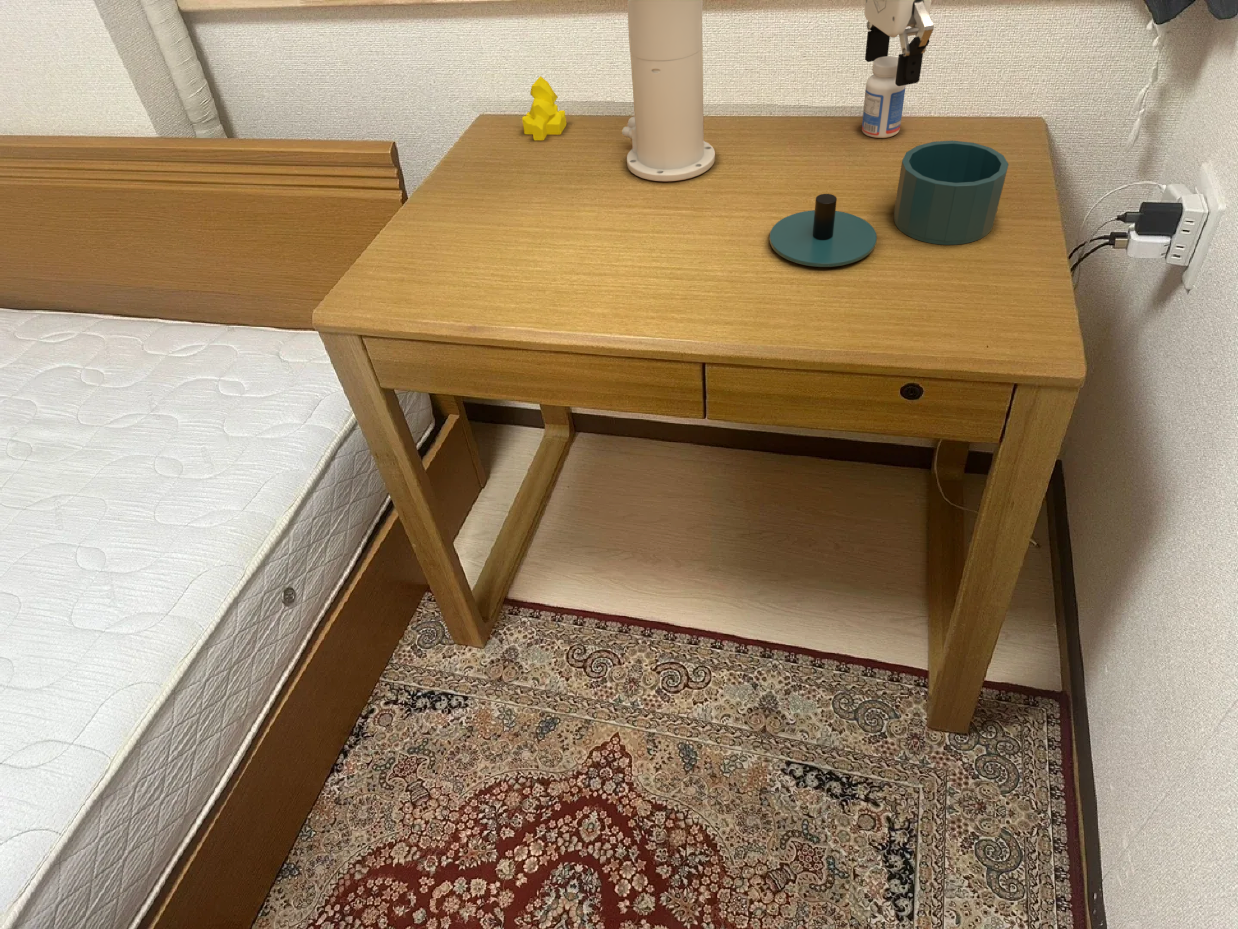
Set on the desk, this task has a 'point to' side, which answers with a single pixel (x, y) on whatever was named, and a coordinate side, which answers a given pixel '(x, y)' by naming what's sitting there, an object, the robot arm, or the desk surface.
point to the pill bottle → (883, 100)
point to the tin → (949, 192)
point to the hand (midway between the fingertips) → (891, 71)
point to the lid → (823, 236)
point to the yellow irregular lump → (543, 112)
